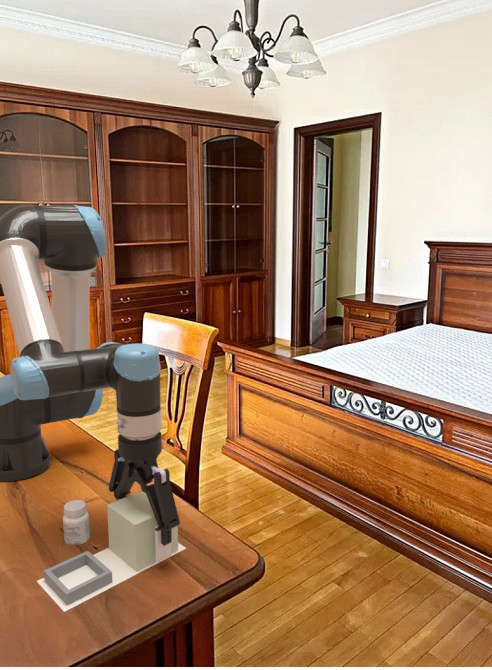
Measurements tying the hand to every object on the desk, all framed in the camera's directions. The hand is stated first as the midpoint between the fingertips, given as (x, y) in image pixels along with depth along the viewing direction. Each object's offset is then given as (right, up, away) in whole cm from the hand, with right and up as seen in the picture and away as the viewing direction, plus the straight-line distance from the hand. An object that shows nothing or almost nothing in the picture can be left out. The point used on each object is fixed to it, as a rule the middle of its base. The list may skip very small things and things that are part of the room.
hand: (143, 543), depth 100 cm
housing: (0, -1, 0) cm, 1 cm away
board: (-4, -4, -3) cm, 7 cm away
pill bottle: (-13, -2, +4) cm, 14 cm away
